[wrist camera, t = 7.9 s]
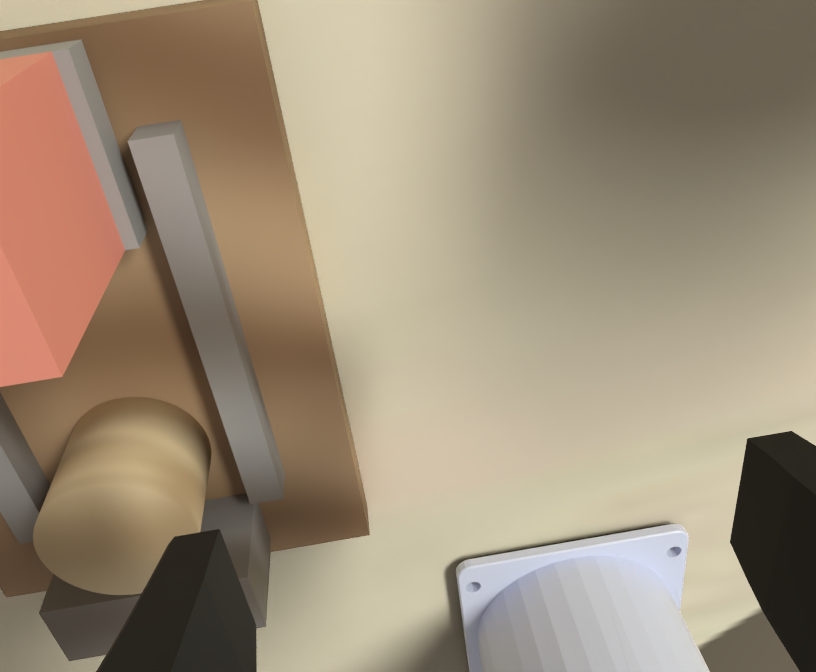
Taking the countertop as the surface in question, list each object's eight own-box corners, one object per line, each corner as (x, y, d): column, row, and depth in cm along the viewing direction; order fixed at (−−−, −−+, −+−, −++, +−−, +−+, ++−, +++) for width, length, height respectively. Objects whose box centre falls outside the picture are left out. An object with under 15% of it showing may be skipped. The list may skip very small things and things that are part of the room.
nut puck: (226, 487, 21) (216, 578, 18) (98, 511, 20) (68, 607, 18) (189, 385, 19) (171, 471, 16) (48, 410, 19) (5, 501, 16)
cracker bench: (367, 506, 23) (377, 619, 20) (20, 565, 23) (-34, 691, 19) (255, -8, 15) (238, 28, 12) (-283, 74, 15) (-469, 137, 11)
